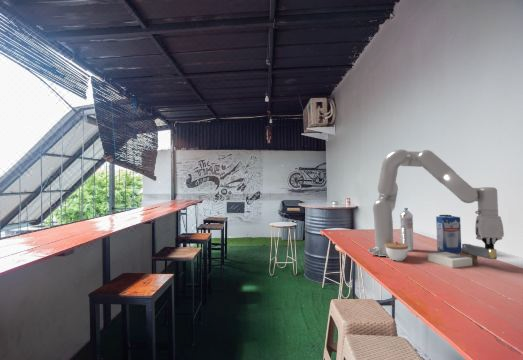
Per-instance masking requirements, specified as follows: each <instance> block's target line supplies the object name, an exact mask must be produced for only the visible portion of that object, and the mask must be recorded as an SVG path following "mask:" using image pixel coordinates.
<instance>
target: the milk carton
mask: <svg viewBox="0 0 523 360" xmlns="http://www.w3.org/2000/svg"><path fill="white" fill-rule="evenodd" d="M435 217H436V219H435V220H436V221H435V223H436V225H435V226H436V245H437V247H436V249H437V251H438V253H440V252H449V253H453V254H459V253H460V252H462V233H461V232H462V231H461V229H462V228H461V227H462V226H461V216H455V215H452V216H439V215H438V216H435Z"/></svg>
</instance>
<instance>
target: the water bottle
mask: <svg viewBox="0 0 523 360" xmlns="http://www.w3.org/2000/svg"><path fill="white" fill-rule="evenodd" d="M413 216H414V215H413V214H412V212H411V211H409V210H408V207H404V210H403V211H401V213H400V214H399V219H400V221H399V222H400V224H399V225H400V228H399V231H400V243H401V244H406V245H408V252H413V251H414V250H415V248H414V247H415V246H414V245H415V243H414V242H415V241H414V226H413V225H414V224H413V223H414V222H413V221H414V219H413V218H414V217H413Z"/></svg>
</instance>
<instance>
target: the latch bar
mask: <svg viewBox="0 0 523 360" xmlns="http://www.w3.org/2000/svg"><path fill="white" fill-rule="evenodd" d="M461 252H463V253H466V254H472V255H476V256H477V257H480V258H484V259H489V260H498V257H497V255H498V254H497V249H496V248H494V249H489V248H485V246H478V245H473V244H471V243H461Z"/></svg>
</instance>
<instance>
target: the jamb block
mask: <svg viewBox="0 0 523 360" xmlns="http://www.w3.org/2000/svg"><path fill="white" fill-rule="evenodd" d="M458 255H462V256H466V257H470V258H472V266H473V265H478V256H476V255H472V254H466V253H463V252H462V251H461V252H460V253H458Z"/></svg>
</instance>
